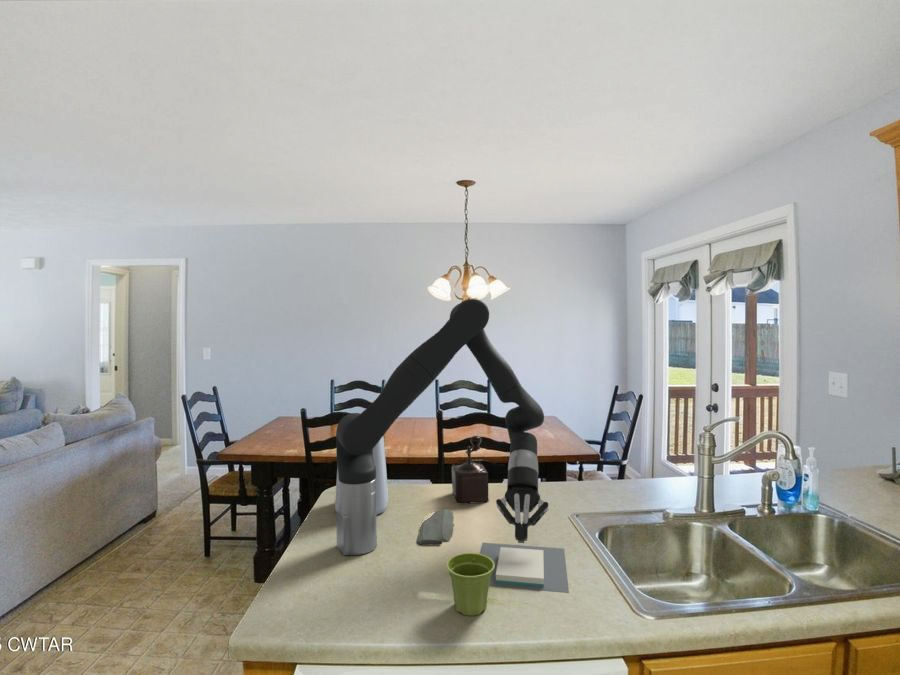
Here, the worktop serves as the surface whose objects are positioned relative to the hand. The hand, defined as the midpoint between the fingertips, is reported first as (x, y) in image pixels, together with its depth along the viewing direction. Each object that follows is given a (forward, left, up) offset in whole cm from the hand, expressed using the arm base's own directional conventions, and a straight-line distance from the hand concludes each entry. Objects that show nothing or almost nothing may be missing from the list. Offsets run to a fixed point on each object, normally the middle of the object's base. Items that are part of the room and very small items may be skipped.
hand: (521, 541), depth 111 cm
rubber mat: (0, 0, -6) cm, 6 cm away
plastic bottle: (-19, +54, -6) cm, 58 cm away
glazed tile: (+3, +3, -4) cm, 6 cm away
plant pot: (-18, -7, -6) cm, 21 cm away
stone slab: (-6, +30, -7) cm, 31 cm away
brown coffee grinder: (+15, +47, -6) cm, 50 cm away
